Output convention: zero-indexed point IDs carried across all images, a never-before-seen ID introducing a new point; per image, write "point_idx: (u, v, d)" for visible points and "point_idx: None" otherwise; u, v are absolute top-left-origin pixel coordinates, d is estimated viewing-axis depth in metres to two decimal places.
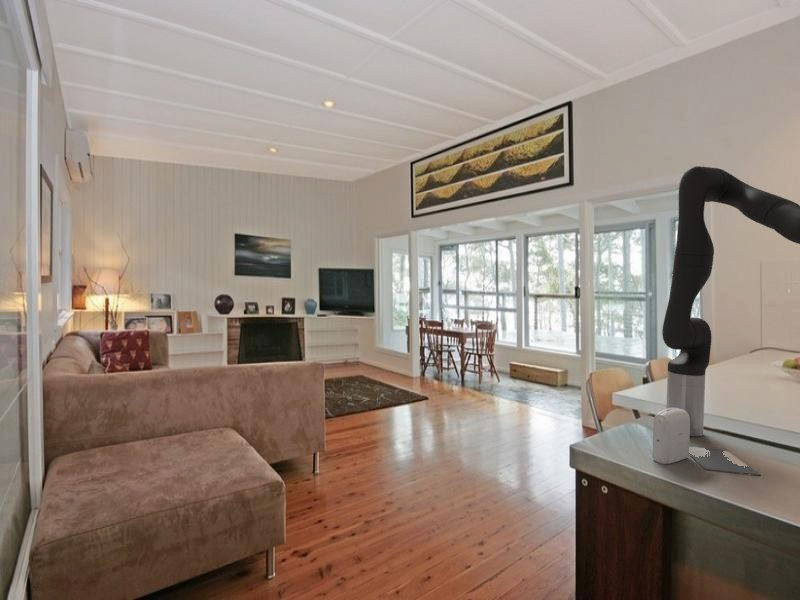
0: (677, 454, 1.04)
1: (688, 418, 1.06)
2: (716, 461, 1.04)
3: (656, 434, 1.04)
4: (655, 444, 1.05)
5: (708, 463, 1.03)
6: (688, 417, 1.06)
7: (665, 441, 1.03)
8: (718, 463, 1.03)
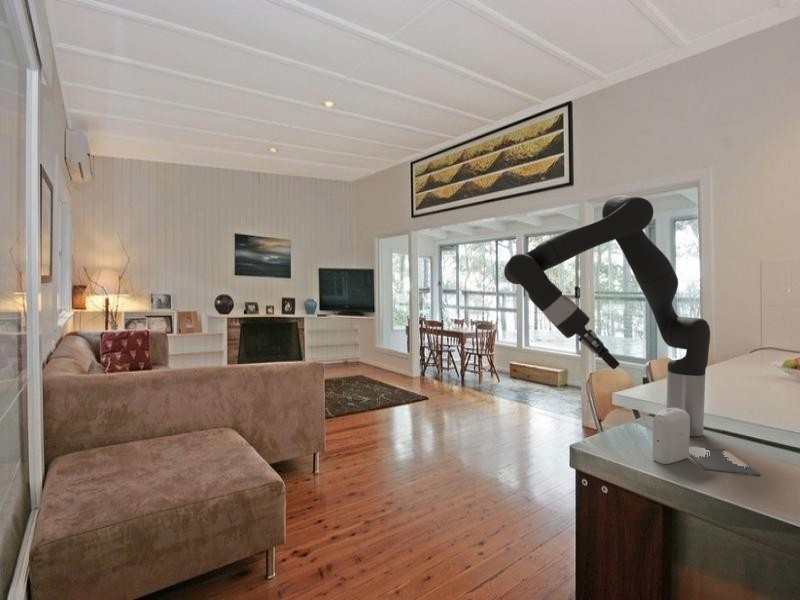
0: (677, 454, 1.04)
1: (688, 418, 1.06)
2: (716, 461, 1.04)
3: (656, 434, 1.04)
4: (655, 444, 1.05)
5: (708, 463, 1.03)
6: (688, 417, 1.06)
7: (665, 441, 1.03)
8: (718, 463, 1.03)
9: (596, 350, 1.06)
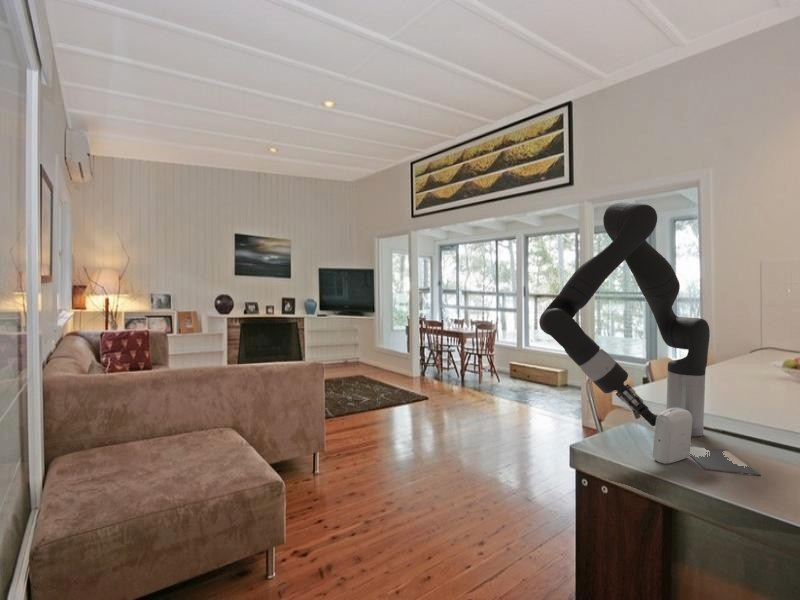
0: (678, 454, 1.04)
1: (691, 419, 1.05)
2: (716, 461, 1.04)
3: (658, 434, 1.04)
4: (656, 444, 1.05)
5: (708, 463, 1.03)
6: (691, 418, 1.06)
7: (667, 441, 1.03)
8: (718, 463, 1.03)
9: (636, 408, 1.04)
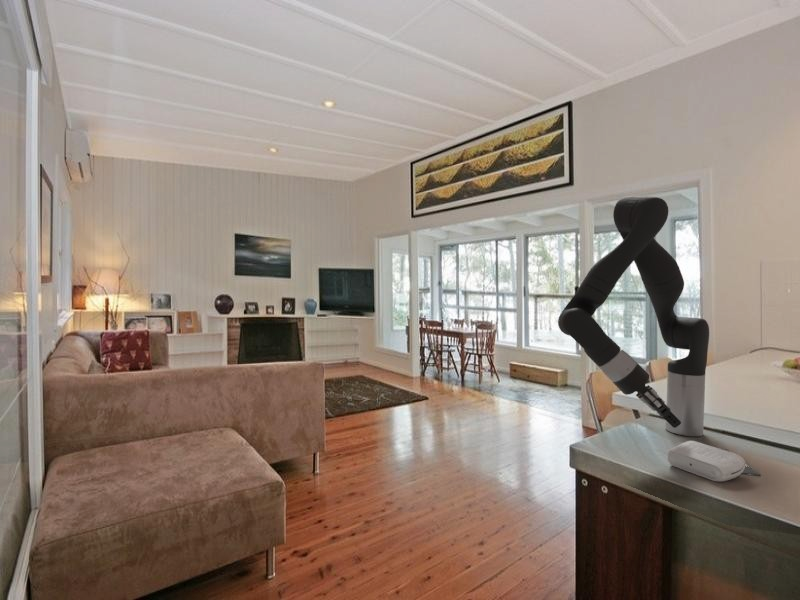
0: None
1: None
2: None
3: (697, 464, 0.96)
4: (685, 458, 0.99)
5: None
6: None
7: (693, 471, 0.98)
8: None
9: (658, 410, 1.02)
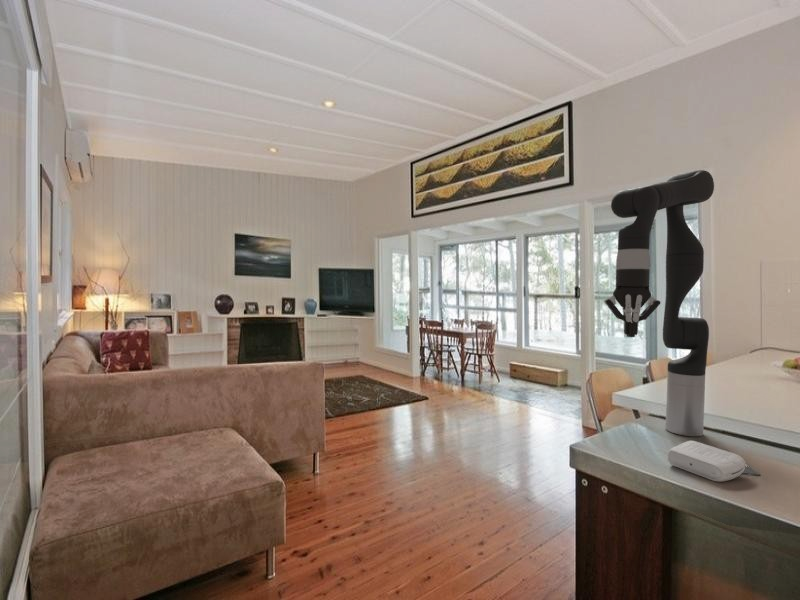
0: None
1: None
2: None
3: (697, 464, 0.96)
4: (685, 458, 0.99)
5: None
6: None
7: (693, 471, 0.98)
8: None
9: None
